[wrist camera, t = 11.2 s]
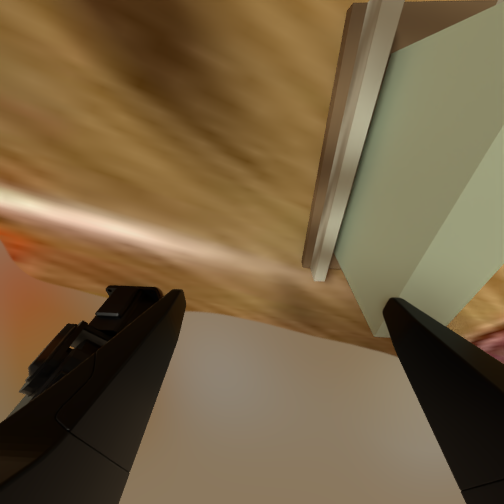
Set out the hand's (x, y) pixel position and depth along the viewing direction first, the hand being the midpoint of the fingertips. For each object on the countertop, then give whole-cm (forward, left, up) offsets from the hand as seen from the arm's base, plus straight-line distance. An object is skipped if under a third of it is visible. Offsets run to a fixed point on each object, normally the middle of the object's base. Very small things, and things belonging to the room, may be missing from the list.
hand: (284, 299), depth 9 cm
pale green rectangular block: (+3, -8, -10) cm, 13 cm away
